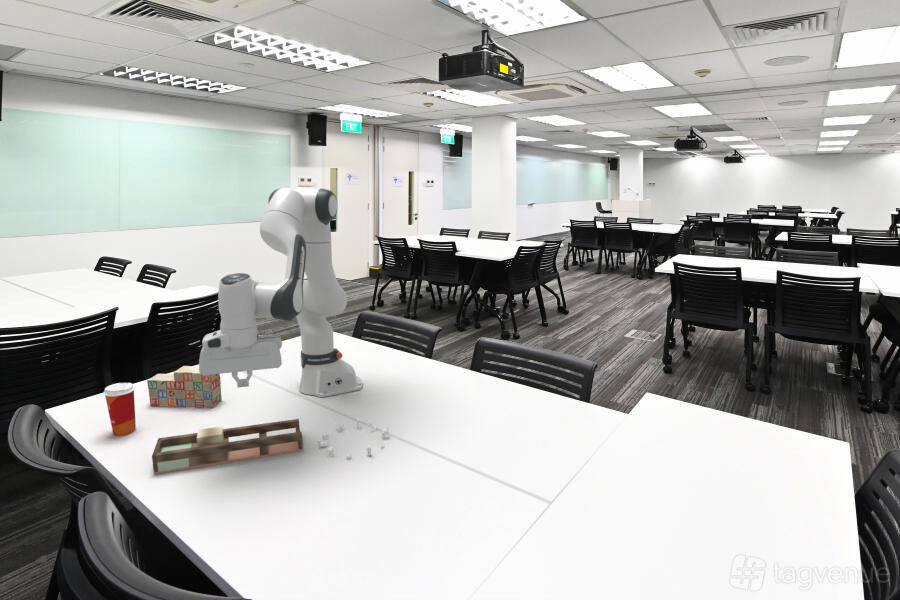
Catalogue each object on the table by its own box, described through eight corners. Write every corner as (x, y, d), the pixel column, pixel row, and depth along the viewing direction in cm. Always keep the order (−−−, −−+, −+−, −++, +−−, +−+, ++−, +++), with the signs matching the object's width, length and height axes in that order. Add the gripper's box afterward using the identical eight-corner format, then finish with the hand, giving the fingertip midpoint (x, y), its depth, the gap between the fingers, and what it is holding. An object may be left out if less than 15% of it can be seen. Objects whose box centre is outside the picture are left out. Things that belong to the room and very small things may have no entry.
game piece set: (390, 427, 156) (390, 416, 155) (384, 461, 136) (384, 448, 135) (326, 428, 155) (325, 416, 154) (311, 462, 136) (310, 448, 135)
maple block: (223, 439, 140) (222, 426, 139) (223, 448, 135) (221, 434, 135) (199, 443, 138) (198, 429, 137) (198, 452, 133) (196, 437, 132)
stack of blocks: (149, 406, 168) (145, 371, 165) (161, 399, 174) (157, 364, 171) (213, 408, 167) (210, 373, 164) (222, 401, 173) (219, 366, 171)
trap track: (299, 434, 150) (298, 418, 149) (302, 450, 141) (301, 433, 140) (160, 455, 137) (158, 438, 136) (154, 474, 128) (151, 456, 127)
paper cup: (118, 425, 154) (112, 382, 151) (144, 425, 154) (139, 381, 152) (103, 438, 146) (96, 392, 143) (131, 437, 147) (125, 391, 144)
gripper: (280, 330, 140) (283, 377, 143) (198, 336, 133) (202, 386, 136) (282, 336, 134) (284, 385, 137) (195, 343, 127) (200, 395, 130)
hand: (243, 386), depth 136 cm, fingers closed
